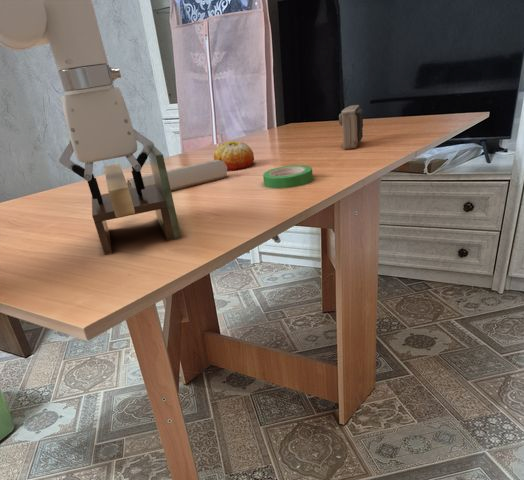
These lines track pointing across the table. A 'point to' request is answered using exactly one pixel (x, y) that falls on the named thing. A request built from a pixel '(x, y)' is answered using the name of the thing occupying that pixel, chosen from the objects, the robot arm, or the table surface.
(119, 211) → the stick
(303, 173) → the tape roll
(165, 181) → the miniature wooden chair
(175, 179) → the tube
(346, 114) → the camera
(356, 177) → the table surface
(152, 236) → the table surface
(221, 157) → the fruit
